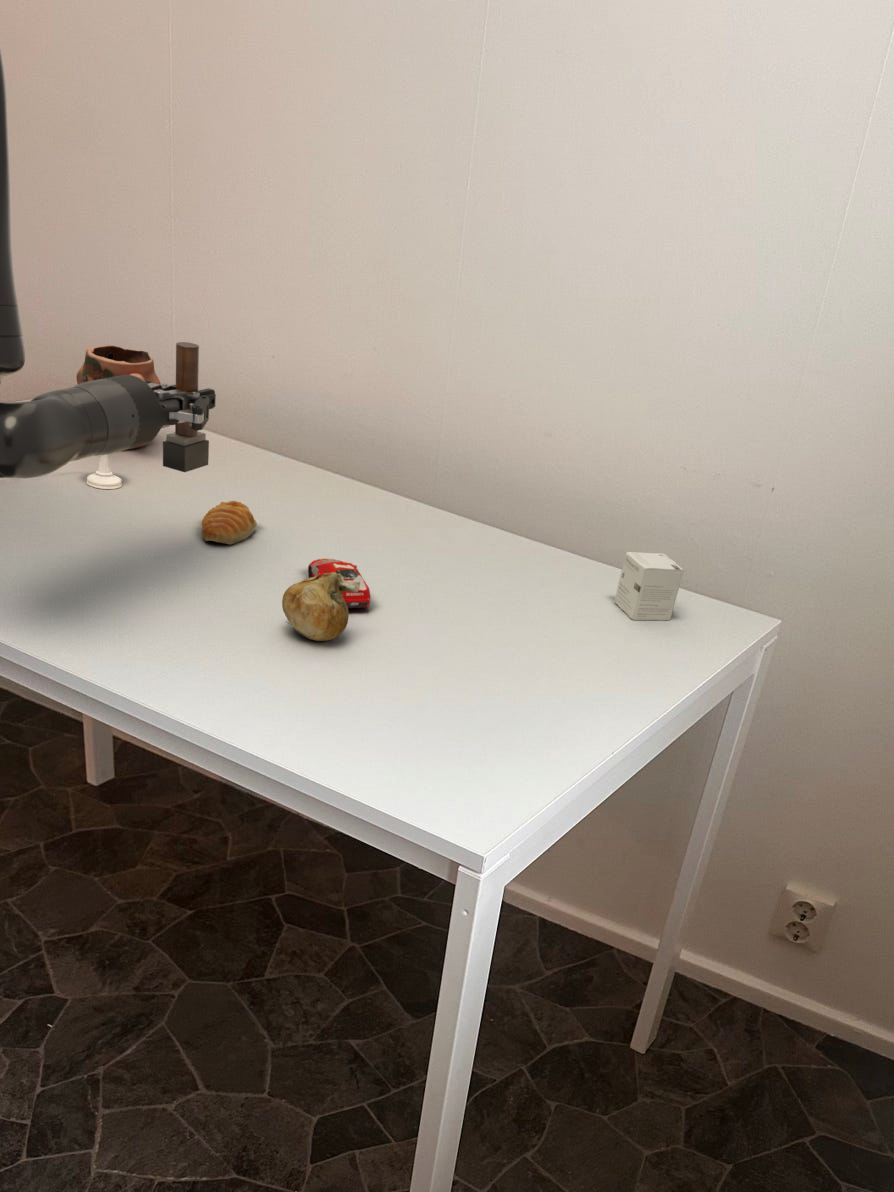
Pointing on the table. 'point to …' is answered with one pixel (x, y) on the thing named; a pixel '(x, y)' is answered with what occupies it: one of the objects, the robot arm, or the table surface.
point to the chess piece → (104, 476)
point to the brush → (186, 443)
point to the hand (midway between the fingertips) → (200, 395)
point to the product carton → (648, 586)
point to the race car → (347, 574)
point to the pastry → (228, 523)
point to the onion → (318, 606)
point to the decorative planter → (116, 365)
